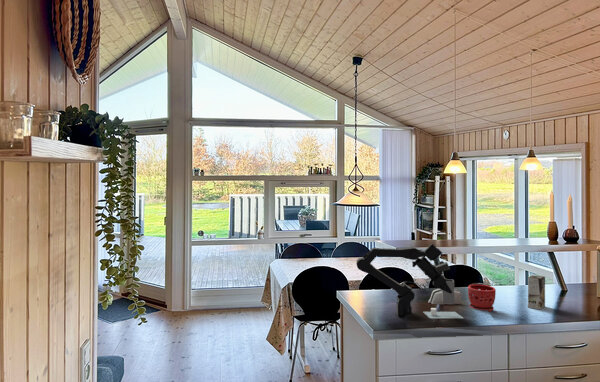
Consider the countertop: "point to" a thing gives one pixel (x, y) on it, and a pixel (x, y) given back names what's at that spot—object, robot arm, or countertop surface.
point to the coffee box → (536, 292)
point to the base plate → (442, 314)
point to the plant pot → (481, 297)
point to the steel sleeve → (447, 296)
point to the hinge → (437, 297)
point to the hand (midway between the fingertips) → (451, 291)
